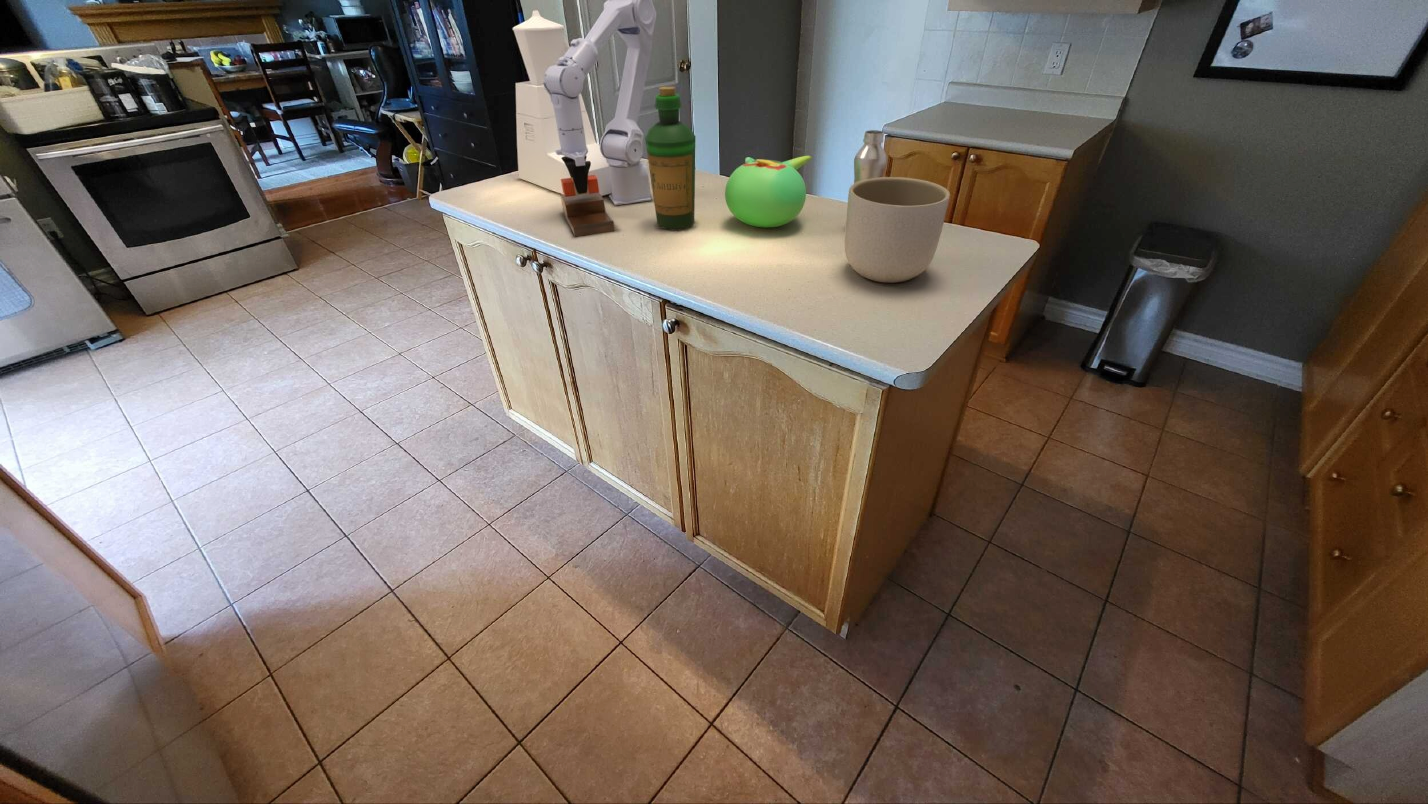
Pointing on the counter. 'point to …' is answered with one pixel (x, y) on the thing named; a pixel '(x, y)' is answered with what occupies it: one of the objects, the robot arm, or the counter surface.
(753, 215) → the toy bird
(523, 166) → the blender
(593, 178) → the candy bar
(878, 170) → the silver metal bottle
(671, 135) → the bottle
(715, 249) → the counter surface
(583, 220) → the step shelf
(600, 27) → the robot arm
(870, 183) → the planter
